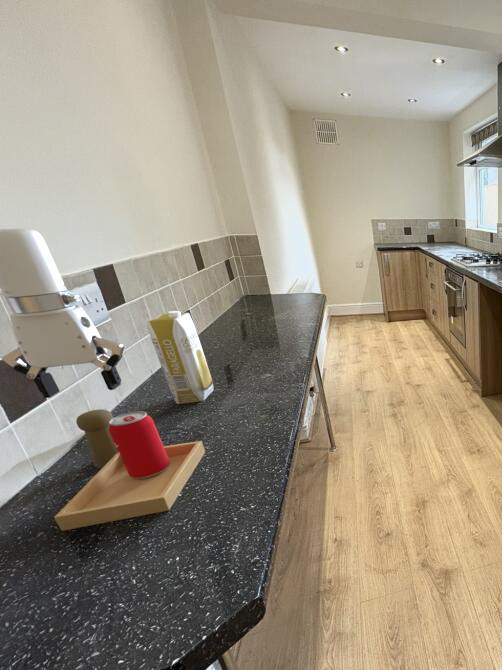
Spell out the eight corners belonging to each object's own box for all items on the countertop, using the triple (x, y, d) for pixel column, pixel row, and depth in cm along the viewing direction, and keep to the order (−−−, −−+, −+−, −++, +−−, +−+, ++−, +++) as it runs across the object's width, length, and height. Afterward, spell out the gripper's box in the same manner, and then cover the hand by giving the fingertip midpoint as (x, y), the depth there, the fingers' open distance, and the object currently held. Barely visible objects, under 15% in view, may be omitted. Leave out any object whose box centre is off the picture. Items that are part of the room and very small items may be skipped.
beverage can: (163, 459, 84) (141, 406, 79) (177, 468, 81) (155, 414, 76) (124, 474, 79) (99, 420, 74) (138, 485, 76) (113, 428, 71)
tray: (61, 531, 66) (53, 517, 65) (121, 465, 83) (116, 453, 82) (169, 510, 71) (163, 497, 69) (205, 451, 88) (201, 440, 86)
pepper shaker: (85, 465, 83) (61, 417, 79) (118, 449, 88) (97, 404, 84) (108, 469, 82) (85, 421, 77) (139, 453, 87) (119, 407, 83)
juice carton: (206, 402, 110) (176, 314, 100) (171, 406, 108) (138, 317, 98) (218, 389, 118) (192, 306, 109) (186, 392, 116) (157, 308, 106)
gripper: (113, 295, 78) (147, 377, 85) (-7, 303, 73) (40, 390, 80) (91, 303, 71) (129, 391, 78) (-42, 313, 66) (12, 406, 73)
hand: (84, 391), depth 79 cm, fingers open, 9 cm apart
